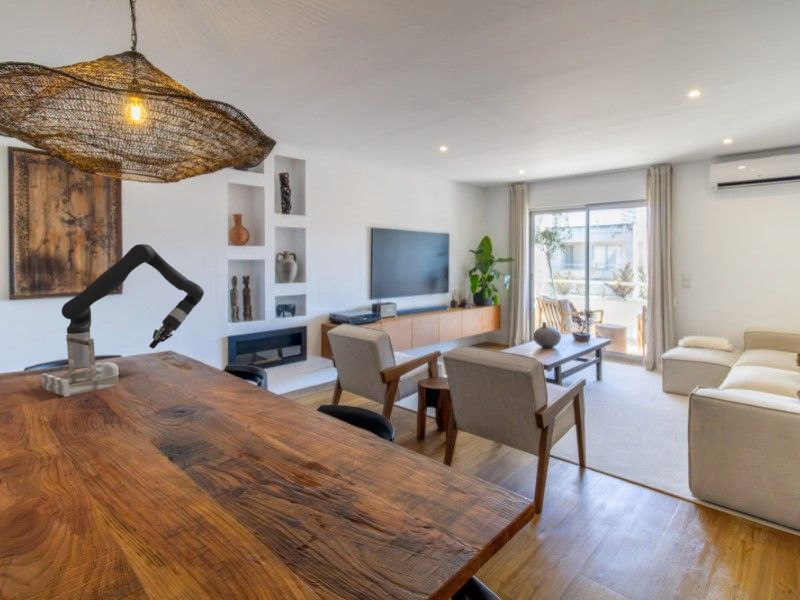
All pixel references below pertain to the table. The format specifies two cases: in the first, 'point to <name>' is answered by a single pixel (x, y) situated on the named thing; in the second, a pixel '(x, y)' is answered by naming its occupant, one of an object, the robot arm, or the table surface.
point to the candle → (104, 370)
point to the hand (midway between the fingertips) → (151, 347)
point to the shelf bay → (77, 374)
